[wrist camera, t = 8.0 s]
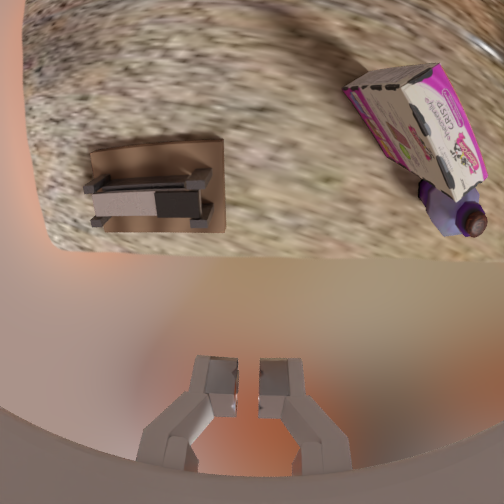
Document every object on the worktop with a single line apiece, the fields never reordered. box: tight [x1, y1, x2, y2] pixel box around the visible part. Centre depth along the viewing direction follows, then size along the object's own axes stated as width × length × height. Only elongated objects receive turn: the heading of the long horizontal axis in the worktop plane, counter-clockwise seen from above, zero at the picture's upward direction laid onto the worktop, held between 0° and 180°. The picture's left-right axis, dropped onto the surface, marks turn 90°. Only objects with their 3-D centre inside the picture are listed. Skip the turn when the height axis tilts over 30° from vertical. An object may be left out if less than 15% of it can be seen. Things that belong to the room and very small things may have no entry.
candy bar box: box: [342, 63, 488, 202], centre depth 23 cm, size 11×5×16 cm, turn 40°
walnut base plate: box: [90, 139, 226, 233], centre depth 36 cm, size 18×12×2 cm, turn 90°
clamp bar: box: [92, 188, 202, 218], centre depth 31 cm, size 14×3×1 cm, turn 90°
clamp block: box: [83, 168, 214, 228], centre depth 33 cm, size 16×6×5 cm, turn 90°
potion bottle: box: [418, 179, 488, 237], centre depth 30 cm, size 9×9×12 cm
